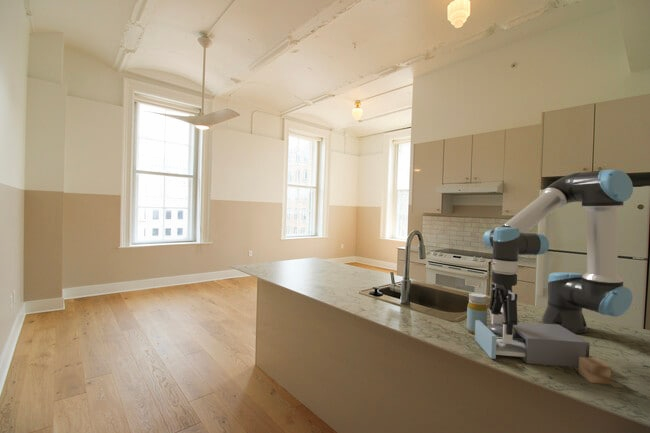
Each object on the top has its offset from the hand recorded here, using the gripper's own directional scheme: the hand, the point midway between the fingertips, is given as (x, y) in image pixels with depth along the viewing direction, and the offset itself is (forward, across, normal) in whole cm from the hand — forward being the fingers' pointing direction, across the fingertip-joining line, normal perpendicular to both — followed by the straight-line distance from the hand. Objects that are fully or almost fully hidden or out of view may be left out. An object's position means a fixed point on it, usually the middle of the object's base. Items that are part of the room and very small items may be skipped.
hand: (501, 337), depth 105 cm
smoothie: (+5, -16, +6) cm, 18 cm away
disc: (-2, 0, 0) cm, 2 cm away
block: (+5, +14, +20) cm, 25 cm away
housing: (+5, 0, +14) cm, 14 cm away
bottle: (+5, -16, -2) cm, 17 cm away
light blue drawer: (+4, 0, +3) cm, 5 cm away
